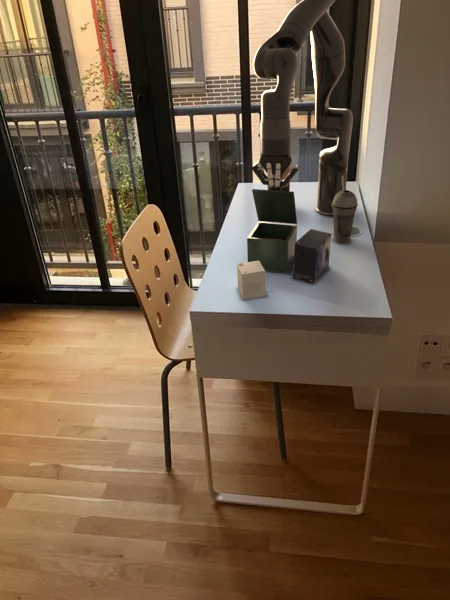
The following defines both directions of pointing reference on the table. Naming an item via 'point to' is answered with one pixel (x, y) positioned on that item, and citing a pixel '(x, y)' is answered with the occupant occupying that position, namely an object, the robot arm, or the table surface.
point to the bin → (272, 245)
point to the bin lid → (275, 206)
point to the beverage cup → (344, 214)
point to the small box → (311, 255)
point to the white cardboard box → (251, 280)
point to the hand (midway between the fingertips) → (275, 199)
